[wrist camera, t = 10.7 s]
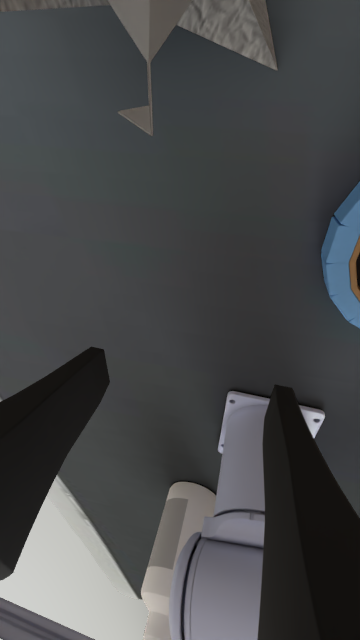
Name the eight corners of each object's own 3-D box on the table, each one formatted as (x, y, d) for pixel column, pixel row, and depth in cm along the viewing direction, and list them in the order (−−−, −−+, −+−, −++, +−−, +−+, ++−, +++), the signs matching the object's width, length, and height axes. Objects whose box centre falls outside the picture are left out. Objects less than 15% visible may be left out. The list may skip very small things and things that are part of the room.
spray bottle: (167, 475, 36) (100, 698, 22) (218, 487, 34) (181, 739, 20) (173, 500, 40) (119, 705, 26) (220, 511, 38) (190, 740, 24)
